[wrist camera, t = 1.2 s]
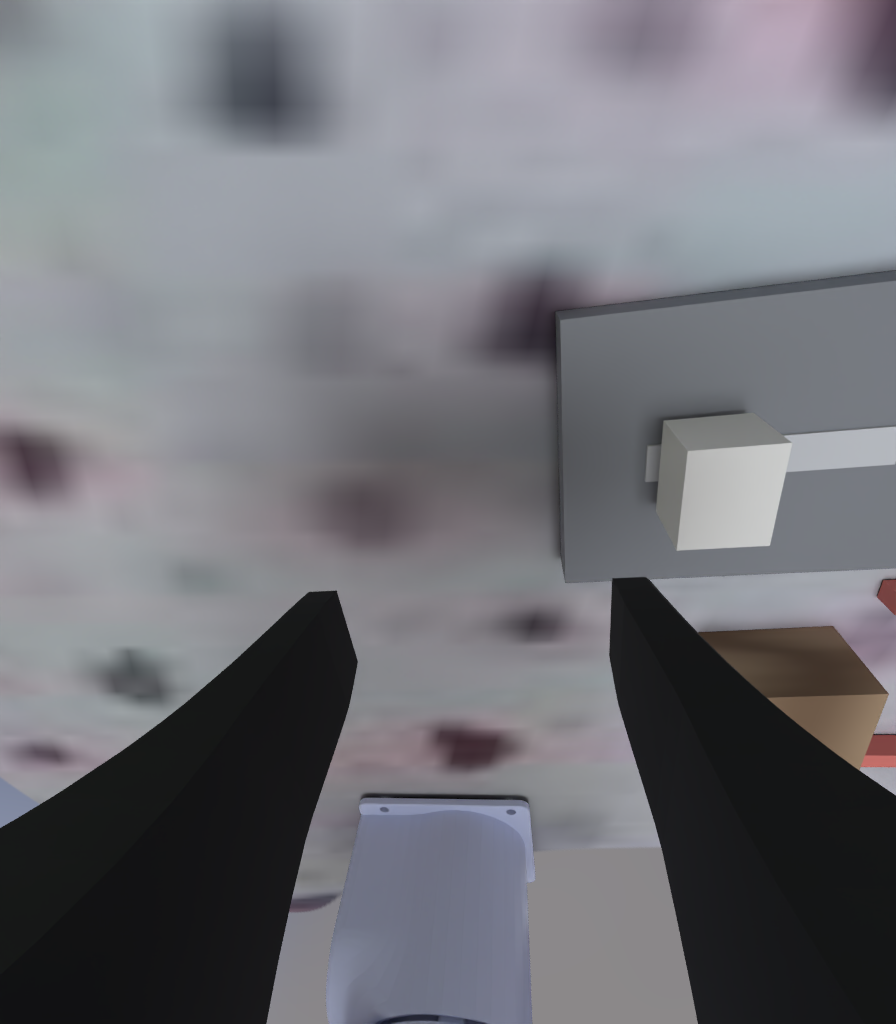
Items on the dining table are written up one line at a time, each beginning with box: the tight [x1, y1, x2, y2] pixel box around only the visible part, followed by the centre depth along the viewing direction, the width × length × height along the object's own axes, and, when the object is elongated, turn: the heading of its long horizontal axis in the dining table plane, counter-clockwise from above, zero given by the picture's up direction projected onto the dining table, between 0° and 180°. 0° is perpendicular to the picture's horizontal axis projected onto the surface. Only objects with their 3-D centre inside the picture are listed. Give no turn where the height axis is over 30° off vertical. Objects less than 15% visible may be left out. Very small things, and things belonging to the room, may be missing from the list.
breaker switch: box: [656, 413, 792, 551], centre depth 14 cm, size 2×3×2 cm
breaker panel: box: [555, 271, 896, 583], centre depth 16 cm, size 12×9×2 cm
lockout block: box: [698, 626, 889, 770], centre depth 20 cm, size 5×5×4 cm
